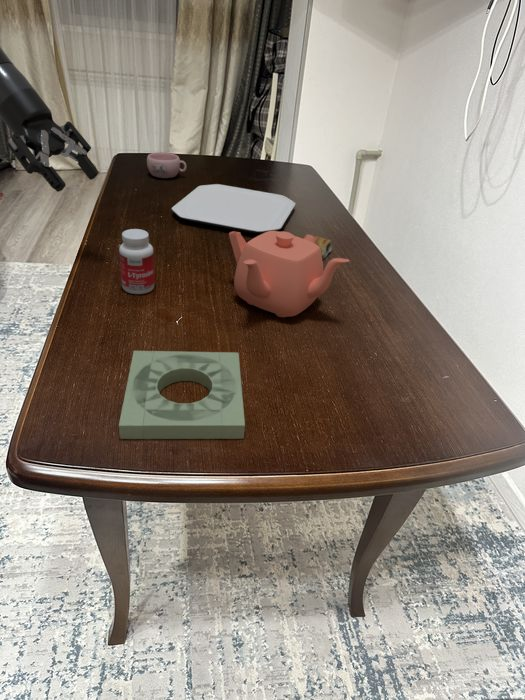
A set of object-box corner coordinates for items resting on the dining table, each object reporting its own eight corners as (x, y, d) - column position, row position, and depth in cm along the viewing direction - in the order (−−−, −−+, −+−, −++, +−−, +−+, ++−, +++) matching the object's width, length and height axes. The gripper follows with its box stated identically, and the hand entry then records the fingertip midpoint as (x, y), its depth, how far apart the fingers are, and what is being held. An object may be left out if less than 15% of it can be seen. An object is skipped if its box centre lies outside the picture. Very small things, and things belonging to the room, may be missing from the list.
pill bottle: (127, 297, 91) (122, 242, 85) (118, 282, 96) (113, 228, 89) (159, 292, 94) (157, 238, 88) (149, 278, 98) (146, 225, 92)
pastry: (286, 251, 115) (288, 235, 113) (296, 241, 120) (298, 226, 118) (324, 261, 112) (326, 245, 110) (332, 251, 117) (335, 236, 115)
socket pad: (120, 439, 63) (118, 425, 62) (134, 363, 76) (133, 350, 74) (243, 438, 65) (245, 425, 64) (237, 365, 78) (238, 352, 76)
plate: (298, 205, 142) (299, 197, 140) (275, 242, 118) (276, 233, 117) (203, 188, 146) (203, 181, 144) (164, 221, 123) (163, 212, 121)
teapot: (336, 325, 90) (351, 256, 82) (238, 329, 86) (244, 257, 78) (308, 278, 105) (319, 215, 97) (223, 280, 101) (226, 214, 92)
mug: (144, 179, 148) (143, 159, 144) (150, 170, 156) (150, 150, 152) (184, 183, 148) (184, 163, 145) (188, 173, 156) (188, 154, 153)
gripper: (-10, 91, 76) (60, 180, 80) (55, 82, 87) (115, 161, 91) (-27, 122, 81) (40, 205, 84) (37, 109, 92) (94, 184, 95)
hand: (79, 182), depth 88 cm, fingers open, 8 cm apart
